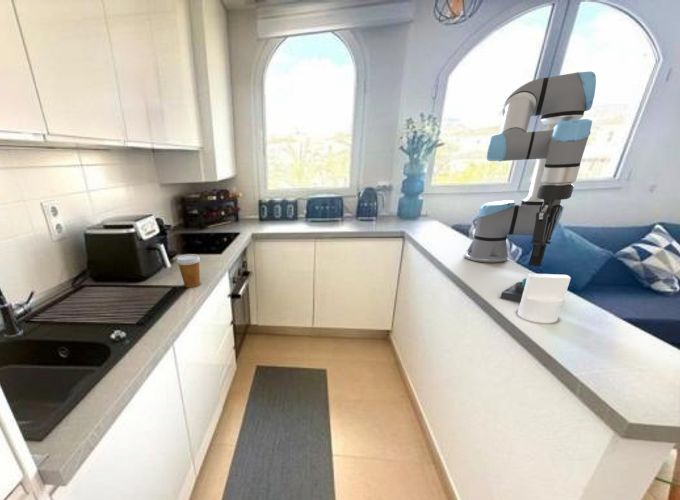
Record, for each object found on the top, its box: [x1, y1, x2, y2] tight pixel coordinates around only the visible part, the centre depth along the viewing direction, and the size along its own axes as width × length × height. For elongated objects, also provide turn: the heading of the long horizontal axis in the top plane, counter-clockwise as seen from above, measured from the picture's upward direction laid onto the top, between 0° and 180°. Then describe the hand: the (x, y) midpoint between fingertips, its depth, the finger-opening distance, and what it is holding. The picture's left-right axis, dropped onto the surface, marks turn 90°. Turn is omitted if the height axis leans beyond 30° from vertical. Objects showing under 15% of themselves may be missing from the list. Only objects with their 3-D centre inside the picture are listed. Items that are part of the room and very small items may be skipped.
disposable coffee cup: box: [176, 253, 201, 288], centre depth 142 cm, size 10×10×12 cm
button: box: [521, 277, 527, 287], centre depth 107 cm, size 4×4×2 cm
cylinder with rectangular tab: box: [517, 273, 572, 324], centre depth 94 cm, size 9×9×12 cm
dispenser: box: [500, 281, 524, 304], centre depth 108 cm, size 12×10×4 cm
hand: (534, 265), depth 105 cm, fingers closed
